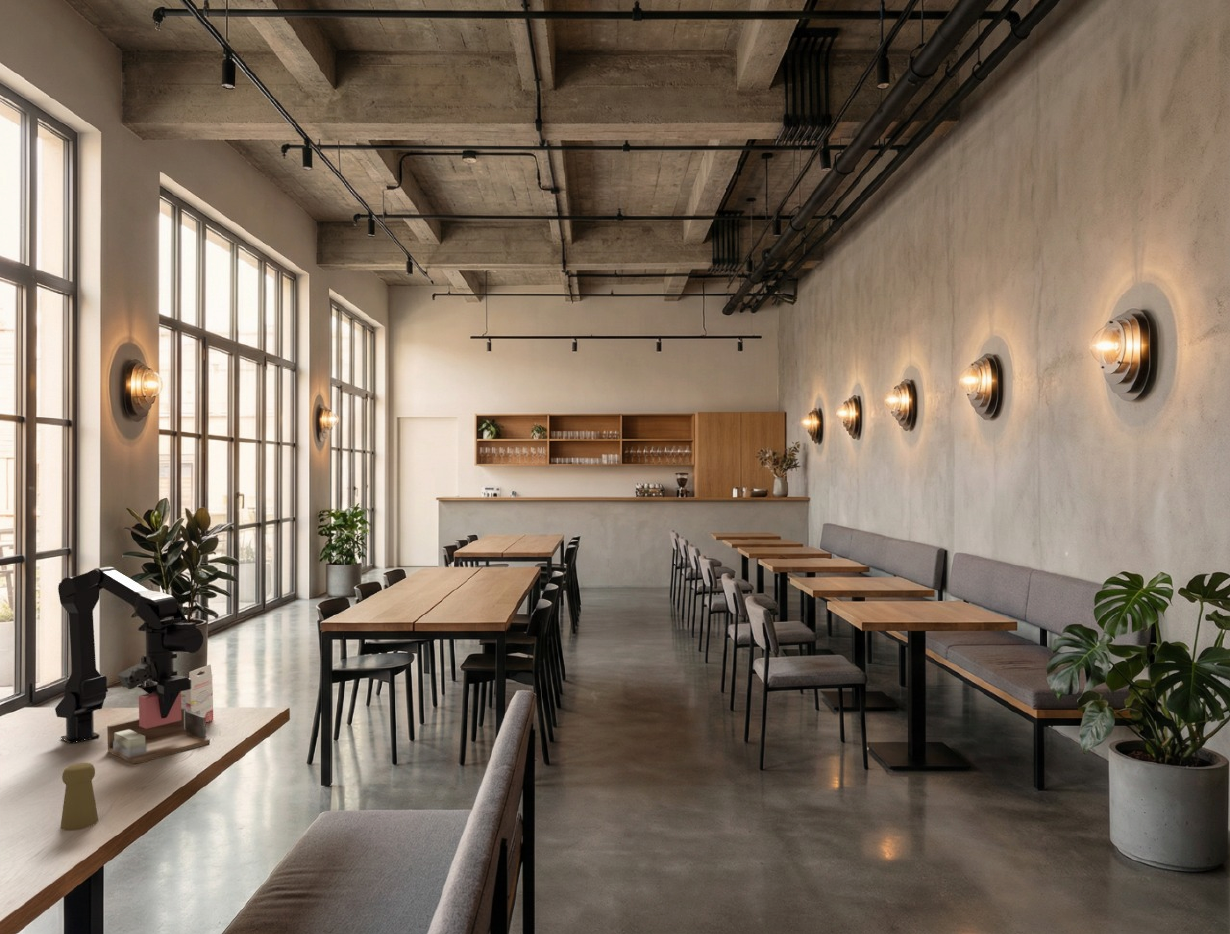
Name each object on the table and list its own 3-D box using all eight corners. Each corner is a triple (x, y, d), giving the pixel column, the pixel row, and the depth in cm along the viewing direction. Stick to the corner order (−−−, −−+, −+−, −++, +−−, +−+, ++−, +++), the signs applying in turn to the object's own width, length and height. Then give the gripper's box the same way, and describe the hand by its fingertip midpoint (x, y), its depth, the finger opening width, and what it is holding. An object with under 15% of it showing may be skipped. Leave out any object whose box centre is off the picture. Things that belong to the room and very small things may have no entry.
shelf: (107, 751, 199) (107, 725, 199) (181, 732, 212) (181, 708, 212) (134, 764, 190) (133, 737, 190) (209, 743, 204) (209, 718, 204)
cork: (71, 817, 162) (70, 759, 162) (104, 816, 163) (103, 758, 162) (53, 831, 156) (52, 771, 156) (88, 829, 157) (87, 769, 156)
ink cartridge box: (197, 719, 224) (196, 663, 223) (214, 720, 223) (213, 663, 222) (174, 729, 215) (173, 671, 215) (191, 730, 214) (190, 671, 214)
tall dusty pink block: (139, 725, 199) (138, 695, 199) (174, 717, 205) (174, 688, 205) (146, 728, 197) (145, 698, 197) (181, 720, 203) (181, 690, 203)
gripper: (105, 651, 200) (106, 717, 200) (141, 662, 189) (142, 733, 189) (155, 642, 209) (155, 706, 209) (192, 653, 197) (192, 720, 197)
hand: (160, 716), depth 201 cm, fingers closed on tall dusty pink block, 3 cm apart
